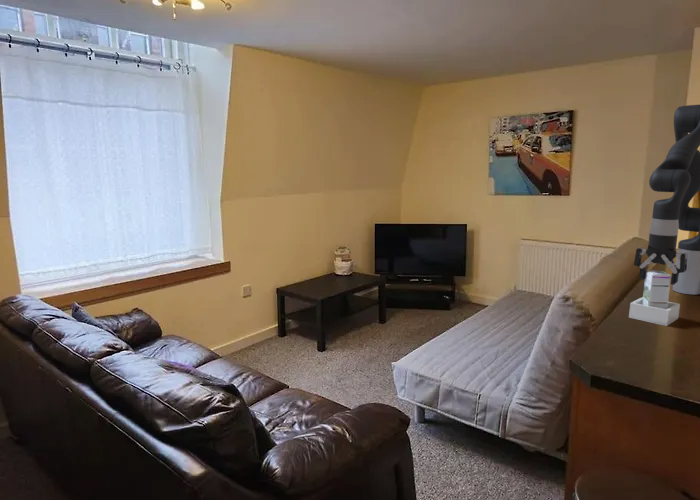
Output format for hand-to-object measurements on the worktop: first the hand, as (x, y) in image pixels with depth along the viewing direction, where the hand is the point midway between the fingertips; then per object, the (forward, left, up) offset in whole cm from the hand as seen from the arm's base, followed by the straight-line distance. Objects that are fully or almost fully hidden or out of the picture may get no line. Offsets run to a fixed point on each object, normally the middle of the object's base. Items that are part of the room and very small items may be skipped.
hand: (657, 281), depth 153 cm
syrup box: (0, 0, -12) cm, 12 cm away
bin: (0, 0, -12) cm, 12 cm away
